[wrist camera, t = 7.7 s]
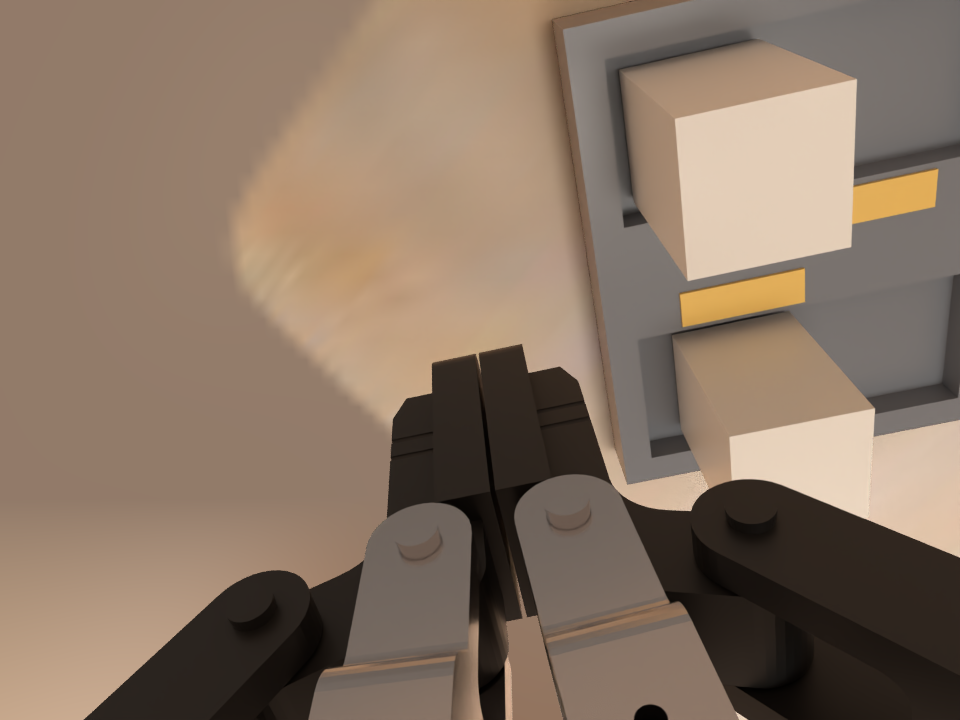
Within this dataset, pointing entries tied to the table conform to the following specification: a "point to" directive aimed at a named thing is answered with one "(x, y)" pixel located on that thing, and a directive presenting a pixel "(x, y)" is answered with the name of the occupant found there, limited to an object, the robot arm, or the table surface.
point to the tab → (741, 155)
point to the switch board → (798, 282)
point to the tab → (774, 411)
